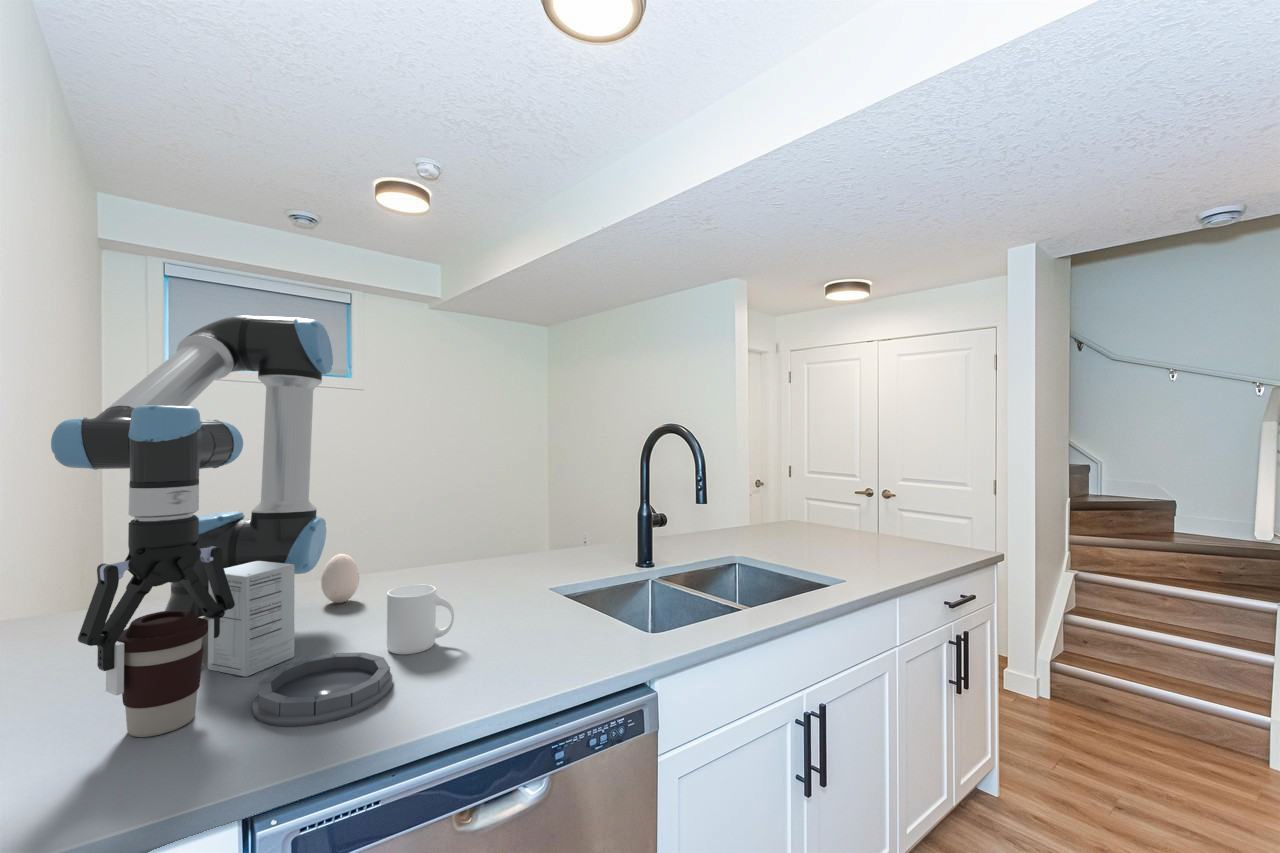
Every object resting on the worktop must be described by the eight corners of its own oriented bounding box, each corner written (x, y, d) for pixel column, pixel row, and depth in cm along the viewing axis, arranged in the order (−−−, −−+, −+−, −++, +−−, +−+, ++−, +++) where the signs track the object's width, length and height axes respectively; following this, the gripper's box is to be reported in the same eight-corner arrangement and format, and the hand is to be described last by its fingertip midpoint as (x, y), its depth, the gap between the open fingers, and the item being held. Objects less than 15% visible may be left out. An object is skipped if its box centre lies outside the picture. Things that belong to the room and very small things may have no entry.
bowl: (223, 707, 84) (223, 687, 84) (339, 660, 101) (339, 643, 101) (308, 739, 76) (308, 716, 76) (418, 682, 93) (418, 664, 93)
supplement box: (296, 657, 103) (297, 563, 103) (246, 678, 94) (247, 576, 94) (257, 649, 106) (258, 559, 106) (205, 669, 97) (206, 570, 97)
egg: (353, 595, 140) (353, 548, 140) (363, 603, 134) (364, 554, 134) (316, 601, 135) (317, 553, 134) (326, 610, 129) (326, 559, 129)
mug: (450, 653, 106) (451, 595, 106) (381, 657, 103) (382, 597, 103) (456, 636, 114) (457, 582, 114) (392, 639, 112) (393, 584, 112)
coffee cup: (151, 708, 84) (152, 606, 84) (222, 706, 85) (224, 605, 85) (92, 745, 74) (94, 630, 74) (174, 743, 75) (175, 628, 75)
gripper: (70, 531, 68) (67, 719, 68) (264, 508, 88) (262, 652, 88) (41, 526, 71) (38, 705, 71) (234, 504, 91) (233, 644, 91)
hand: (162, 676), depth 79 cm, fingers closed on coffee cup, 10 cm apart
